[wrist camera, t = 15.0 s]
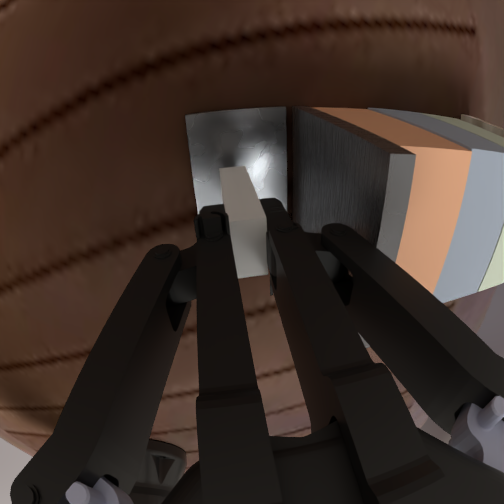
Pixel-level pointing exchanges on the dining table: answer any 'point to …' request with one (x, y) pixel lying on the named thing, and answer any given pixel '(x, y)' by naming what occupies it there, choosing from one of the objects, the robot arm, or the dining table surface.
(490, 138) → the book sage
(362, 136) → the bookend
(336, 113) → the book rust
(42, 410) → the dining table surface
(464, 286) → the book slate
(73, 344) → the dining table surface
